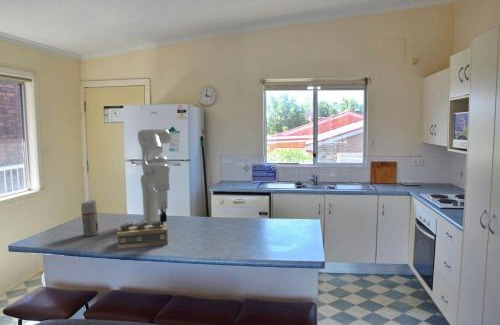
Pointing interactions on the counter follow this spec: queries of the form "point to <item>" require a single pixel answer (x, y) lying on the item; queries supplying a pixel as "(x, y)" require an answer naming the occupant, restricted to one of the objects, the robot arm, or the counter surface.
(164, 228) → the switch unit
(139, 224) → the rocker middle
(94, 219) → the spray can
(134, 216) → the counter surface
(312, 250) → the counter surface
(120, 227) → the rocker left
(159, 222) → the rocker right
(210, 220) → the counter surface
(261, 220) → the counter surface
